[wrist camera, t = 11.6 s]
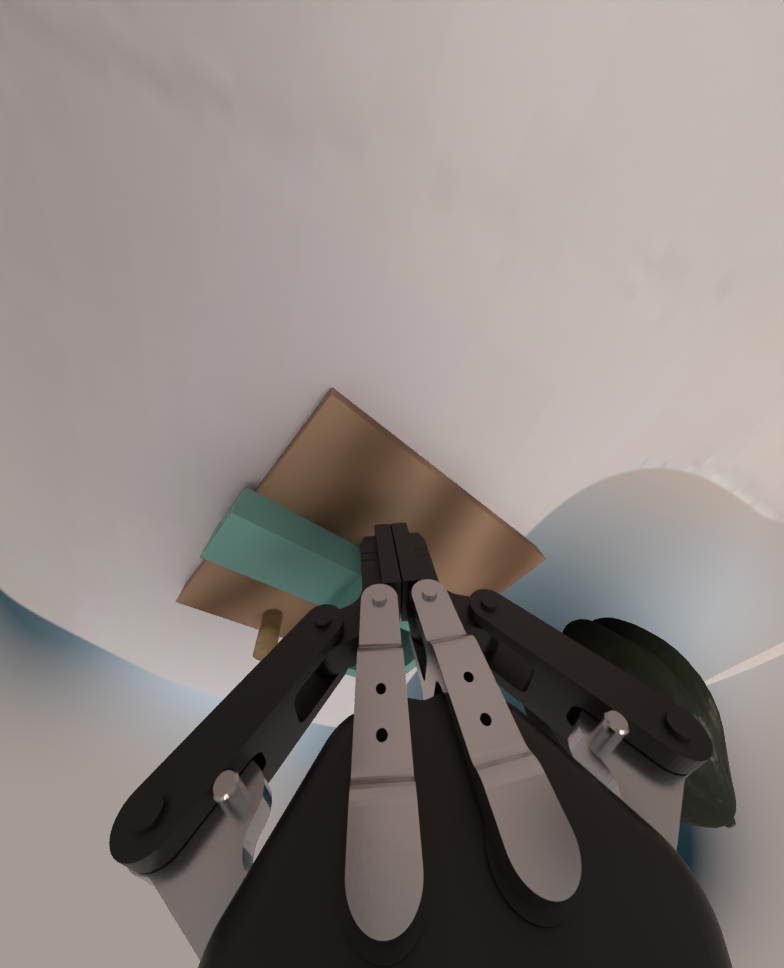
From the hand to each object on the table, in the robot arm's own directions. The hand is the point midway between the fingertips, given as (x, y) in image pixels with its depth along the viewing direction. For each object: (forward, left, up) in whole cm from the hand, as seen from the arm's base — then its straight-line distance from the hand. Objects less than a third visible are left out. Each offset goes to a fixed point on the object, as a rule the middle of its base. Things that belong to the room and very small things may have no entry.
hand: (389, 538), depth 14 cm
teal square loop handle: (+1, -6, -5) cm, 8 cm away
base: (+5, -6, -6) cm, 10 cm away
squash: (+31, -3, -6) cm, 31 cm away
